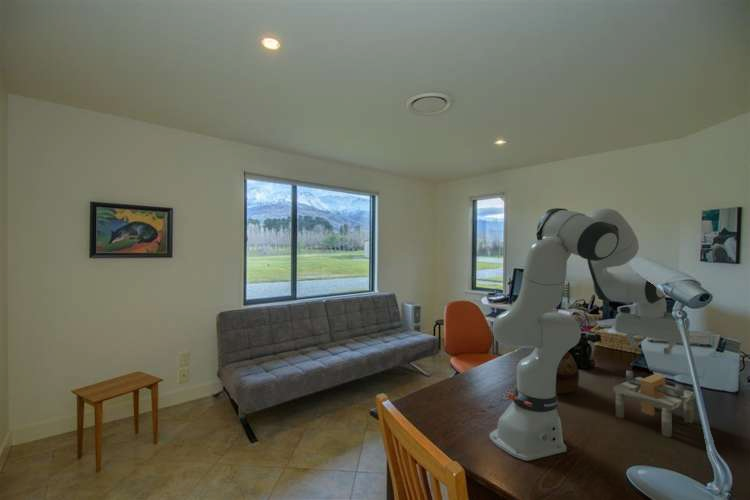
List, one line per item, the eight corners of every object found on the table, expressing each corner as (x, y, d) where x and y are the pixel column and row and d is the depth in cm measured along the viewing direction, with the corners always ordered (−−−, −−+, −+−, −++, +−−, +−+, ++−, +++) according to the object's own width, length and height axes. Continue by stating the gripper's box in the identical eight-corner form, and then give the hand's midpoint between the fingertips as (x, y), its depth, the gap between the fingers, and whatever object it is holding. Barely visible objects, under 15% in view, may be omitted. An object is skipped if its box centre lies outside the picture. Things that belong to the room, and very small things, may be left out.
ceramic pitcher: (530, 394, 131) (529, 321, 131) (523, 375, 150) (522, 311, 150) (586, 400, 125) (585, 323, 125) (570, 380, 145) (570, 313, 144)
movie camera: (607, 364, 161) (604, 329, 161) (594, 374, 150) (591, 337, 150) (543, 351, 186) (541, 321, 186) (528, 360, 175) (525, 328, 175)
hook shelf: (671, 438, 100) (670, 393, 100) (613, 415, 114) (612, 375, 114) (696, 422, 109) (695, 381, 108) (639, 402, 123) (639, 366, 123)
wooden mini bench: (655, 404, 115) (654, 374, 115) (665, 408, 112) (665, 376, 112) (640, 411, 110) (640, 379, 110) (651, 415, 108) (651, 382, 108)
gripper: (693, 314, 105) (694, 357, 104) (620, 305, 123) (621, 342, 122) (685, 316, 102) (686, 360, 101) (612, 307, 119) (612, 344, 119)
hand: (650, 350), depth 112 cm, fingers open, 8 cm apart
